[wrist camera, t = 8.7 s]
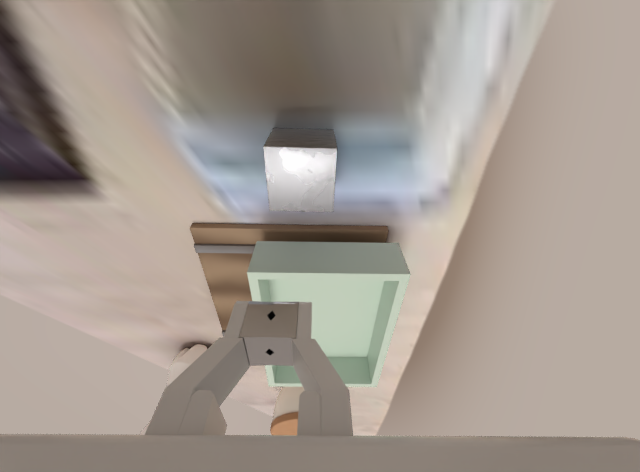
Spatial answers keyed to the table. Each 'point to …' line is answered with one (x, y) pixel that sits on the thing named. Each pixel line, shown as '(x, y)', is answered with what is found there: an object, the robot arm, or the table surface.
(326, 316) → the mint green tray
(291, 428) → the lidded jar
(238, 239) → the track
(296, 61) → the table surface
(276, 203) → the metal block
